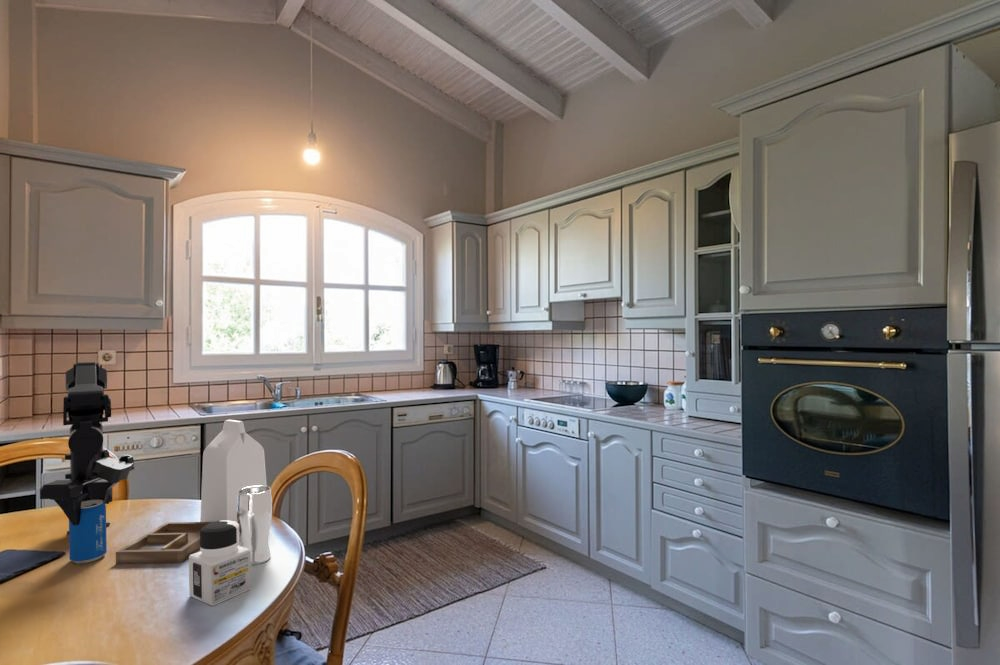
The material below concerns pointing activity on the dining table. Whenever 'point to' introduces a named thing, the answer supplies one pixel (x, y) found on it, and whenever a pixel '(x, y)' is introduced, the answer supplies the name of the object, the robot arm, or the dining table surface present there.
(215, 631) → the dining table surface
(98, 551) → the beverage can
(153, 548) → the tray
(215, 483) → the milk
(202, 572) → the container
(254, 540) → the beer glass
